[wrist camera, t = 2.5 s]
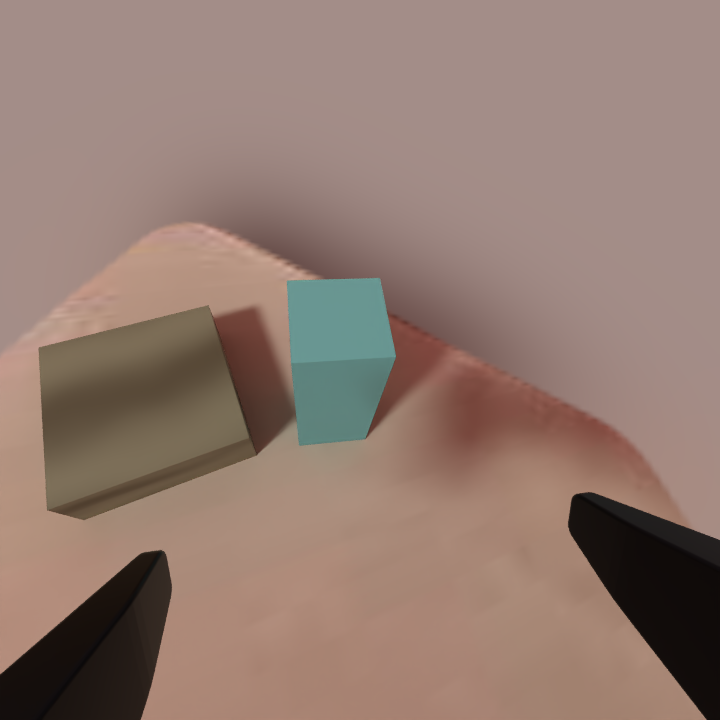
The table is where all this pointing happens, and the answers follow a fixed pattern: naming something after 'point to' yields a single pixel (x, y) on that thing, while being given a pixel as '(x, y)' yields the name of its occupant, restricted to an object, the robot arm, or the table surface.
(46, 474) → the base brick
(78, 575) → the table surface
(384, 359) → the pillar brick
